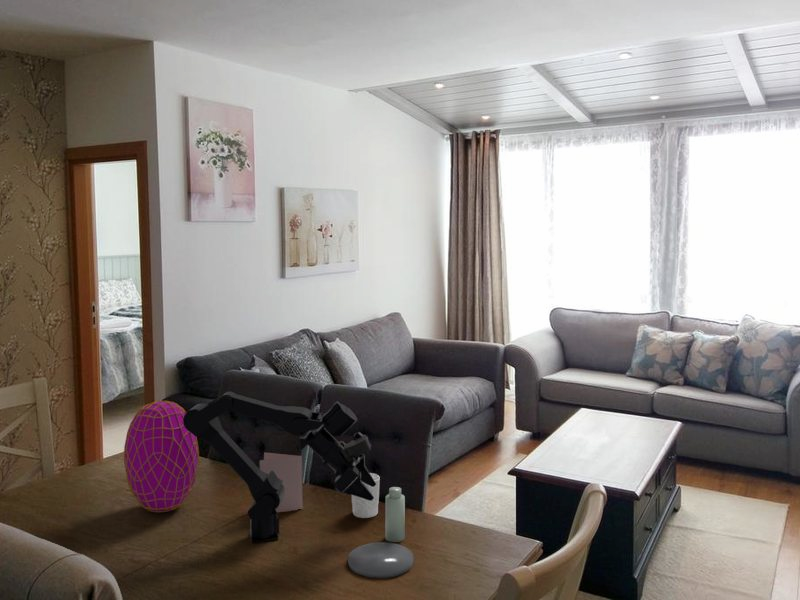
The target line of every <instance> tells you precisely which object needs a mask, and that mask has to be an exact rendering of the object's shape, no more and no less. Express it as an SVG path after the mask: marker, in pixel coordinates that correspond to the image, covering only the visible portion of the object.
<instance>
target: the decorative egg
mask: <svg viewBox="0 0 800 600" xmlns="http://www.w3.org/2000/svg"><path fill="white" fill-rule="evenodd" d="M186 412H187V411H186V410H185V409H184V408H183V407H182V406H180V405H179V404H178V403H177V402H174V401H169V400H156V401H153V402H150V403H147V404H145V405H143V406H141V408H140V409H139V410H138V411H137V412H136V413H135V415H134V416H133V418H132V420H131V422H130V424H129V426H128V429H127V432H126V436H125V443H124V448H123V464H124V469H125V474H126V479H127V484H128V487H129V489H130V491H131V493H132V495H133V496H134V499H136V501H137V502H138V503H139V505H140V506H141V507H142V508H143V509H145V510H147V511H148V512H152V513H166V512H170V511H174V510H176V509H178V508H179V507H180V506H181V505H182V504H183V503H184V502H186V500H187V499H188V496H189V495H190V493H191V492H192V490H193V487H194V485H195V482H196V479H197V473H198V468H199V462H200V451H199V450H200V449H199V443H198V438H197V437H196V436H195V435H193V434H192V433H191V432H189V431H188V430H187V429H186V428H185V427H184V425H183V418H184V415H185V414H186Z"/></svg>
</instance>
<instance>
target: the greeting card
mask: <svg viewBox="0 0 800 600" xmlns="http://www.w3.org/2000/svg"><path fill="white" fill-rule="evenodd" d="M259 469H260V470H261V471H263V472H265V473H267V474H269V473H270V472H271V470H272V471H273V472H274V473H275V474H276V476H277V477H278V478H279V479H280V480H282V481H283V482H282V484H283V486H284V488H285V489H284V490H285V492H284V496H283V498H282V500H281V502H280V504H279V506H278V507H277V508H276V509H275V510H276V512H277V513H284V512H292V510H293V511H299V510H298V509H301V510H303V456H302V455H294V454H285V453H283V454H281V453H274V452H273V453H271V452H264V453H263V459H262V460H261V459H260V460H259Z"/></svg>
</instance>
